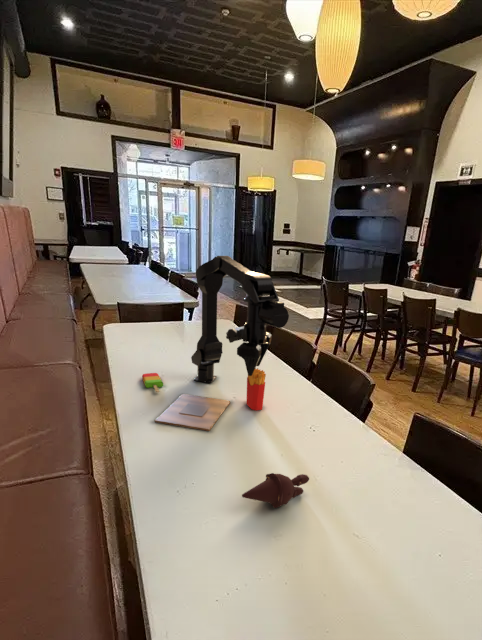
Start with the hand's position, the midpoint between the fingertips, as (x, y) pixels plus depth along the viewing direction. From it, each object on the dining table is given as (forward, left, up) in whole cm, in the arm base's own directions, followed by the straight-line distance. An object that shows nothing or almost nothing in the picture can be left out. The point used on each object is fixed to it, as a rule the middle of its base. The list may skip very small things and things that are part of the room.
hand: (253, 370), depth 125 cm
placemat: (+9, -15, -12) cm, 21 cm away
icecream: (+44, +16, -12) cm, 49 cm away
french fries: (-1, +1, -12) cm, 12 cm away
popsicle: (-5, -35, -12) cm, 37 cm away
